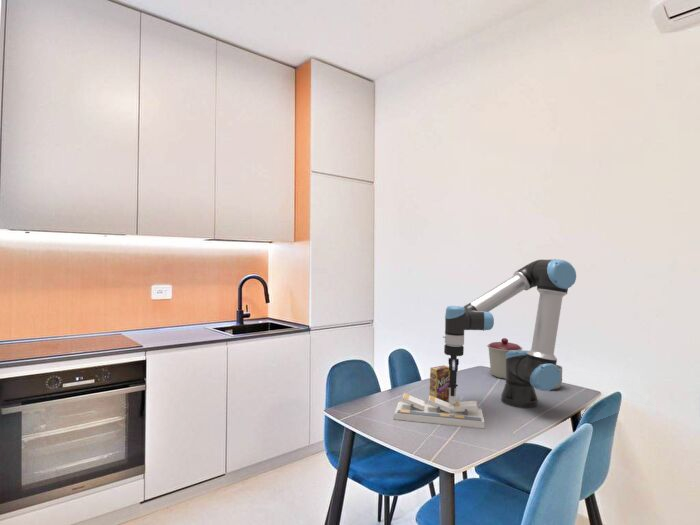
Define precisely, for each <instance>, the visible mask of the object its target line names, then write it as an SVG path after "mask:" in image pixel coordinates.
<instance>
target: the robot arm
mask: <svg viewBox="0 0 700 525" xmlns="http://www.w3.org/2000/svg"><path fill="white" fill-rule="evenodd" d="M576 280H577V272H576V269H575V267H574V266H573V265H572V263H571V262H569V261H568V260H564V259H555V258H554V259H537V260H534V261H531V262H530V263H528V264H526V265H525V266H523V267H521V268H520V269H517V270H516V271H514V272H513V274H512V276H511V277H509V278H508V279H506V280H504V281H503V282H501V283H500V284H498V285H496V286H495V287H493V288H492V289H490V290H488V291H487V292H485V293H483V294H482V295H480V296H479V297H477V298H476V299H474V300H472V301H471V302H469V303H467V304H465V305H463V306H462V305H461V306H459V305H449V306H447V307H446V308H445V316H444V323H445V324H444V325H445V326H444V328H445V329H444V335H443V336H442V338H443V339H444V345H443V346H444V349H443V350H444V355H447V356H450V357H448V367H449V371H450V380H449V386H448V388H449V400H448V403H449V404H451V405H452V404H453V405H454V404H456V402H457V387H459V386H458V384H457V377H458V376H457V374H458V373H457V372H458V370H459V364H460V362H459V360H460V359H459V358H457V357H463V355H464V350H465V348H464V345H465V331H491V330H492V329H493V328H494V325H495V322H494V320H495V319H494V315H493V313H492V312H490V311H492V310H493V309H495V308H498V306H501V304H504V303H505V302H506V301H508V300H510V299H512V298H513V297H514V296H516V295H519V293H521V292H523V291H529V290H530V289H532V288H536V290H537V291H538V293H539V299H538V304H537V311H536V317H535V324H534V329H533V334H532V335H533V336H532V343H531V349H530V350H523V349H522V350H513V351H508V352H507V353H506V379H505V384H504V386H503V390H502V392H501V396H500V397H501V402H503V403H504V404H507V405H509V406H511V407H516V408H517V407H518V408H535V407H537V406H538V405H539V400H538V399H539V398H538V396H537V395H538V394H537V393H536V390H540V391H544V392H547V391H548V392H549V391H552V389H553V388H554V387H556V386H557V385H558V383H559V382H560V379H561V372H560V370H559V368H558V367H557V366H556V365H557V362H558V358H557V357H556V356H555V349H556V342H557V336H558V330H559V323H560V322H559V321H560V315H561V309H562V304H563V298H564V297H565V296H566V295H568V290H569V288H572V286H573V285H575V283H576Z"/></svg>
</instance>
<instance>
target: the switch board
mask: <svg viewBox="0 0 700 525" xmlns="http://www.w3.org/2000/svg"><path fill="white" fill-rule="evenodd" d="M393 417H394V419H393V420H395V421H396V420H397V421H408V422H415V423H416V422H417V423H423V424H424V423H426V424H434V425H435V424H436V425H447V426H455V427H463V428H464V427H465V428H474V429H475V428H477V429H485V419H484V415H483V411H482V408H478V410H474V411H467V412H465V411H460V412H454V405H451V410H450V413H448V412H446V411H443V410H441V409H437V408H436V407H434V406H431V405H429V404H428V403H424V408H423V410H420V409H418V408H415V407H411V405H408V404H406V403H403V402H401V401H398V403H397V406H396V408H395V410H394V416H393Z"/></svg>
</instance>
